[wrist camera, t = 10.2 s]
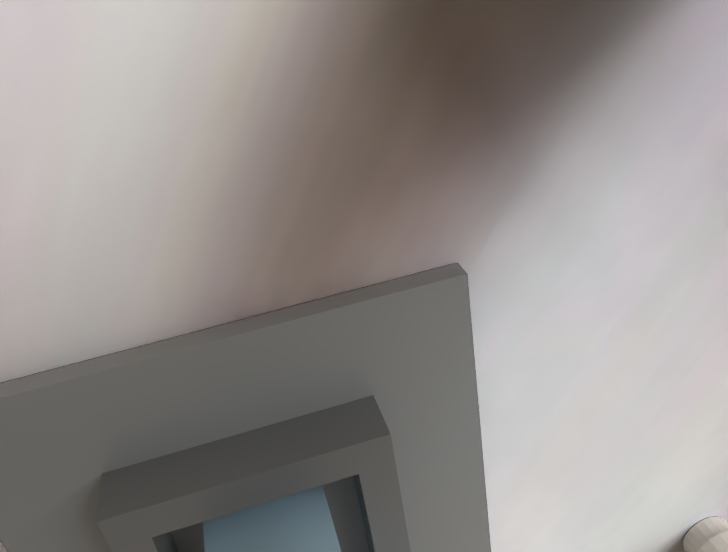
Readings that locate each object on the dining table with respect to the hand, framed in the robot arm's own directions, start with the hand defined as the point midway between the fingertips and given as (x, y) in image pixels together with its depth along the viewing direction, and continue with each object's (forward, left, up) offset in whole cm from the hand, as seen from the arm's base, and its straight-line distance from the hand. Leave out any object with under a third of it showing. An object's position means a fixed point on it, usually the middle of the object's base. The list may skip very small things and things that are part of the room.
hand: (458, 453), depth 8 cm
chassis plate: (+3, +14, -13) cm, 19 cm away
